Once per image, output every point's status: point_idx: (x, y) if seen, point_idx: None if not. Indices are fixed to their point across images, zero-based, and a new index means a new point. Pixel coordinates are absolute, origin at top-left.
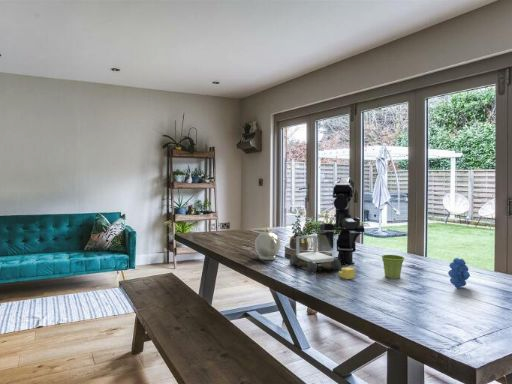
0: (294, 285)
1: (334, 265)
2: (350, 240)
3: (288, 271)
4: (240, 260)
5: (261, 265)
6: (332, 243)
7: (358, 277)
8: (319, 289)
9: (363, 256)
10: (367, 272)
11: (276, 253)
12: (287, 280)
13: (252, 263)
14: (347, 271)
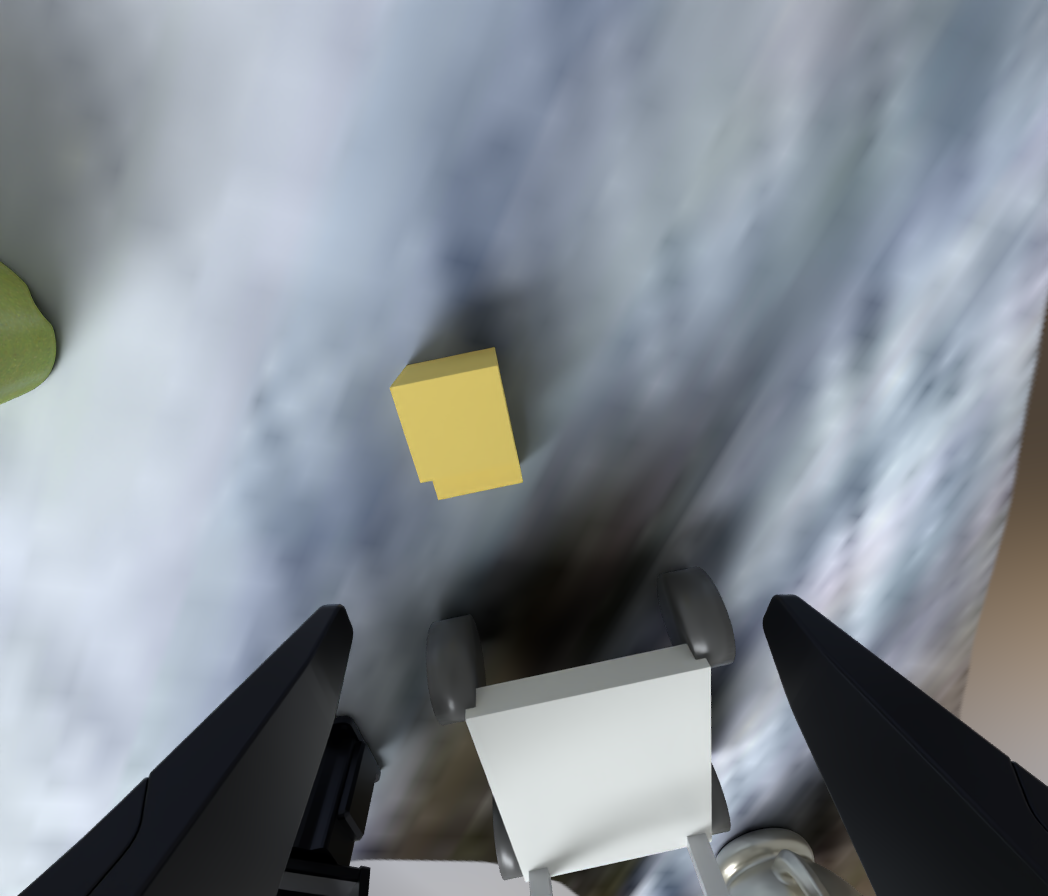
0: (1019, 267)
1: (474, 649)
2: (267, 862)
3: None
4: None
5: None
6: (865, 675)
7: (362, 379)
8: (928, 58)
9: None
10: (215, 514)
11: (744, 885)
12: (963, 420)
13: None
14: (492, 363)
